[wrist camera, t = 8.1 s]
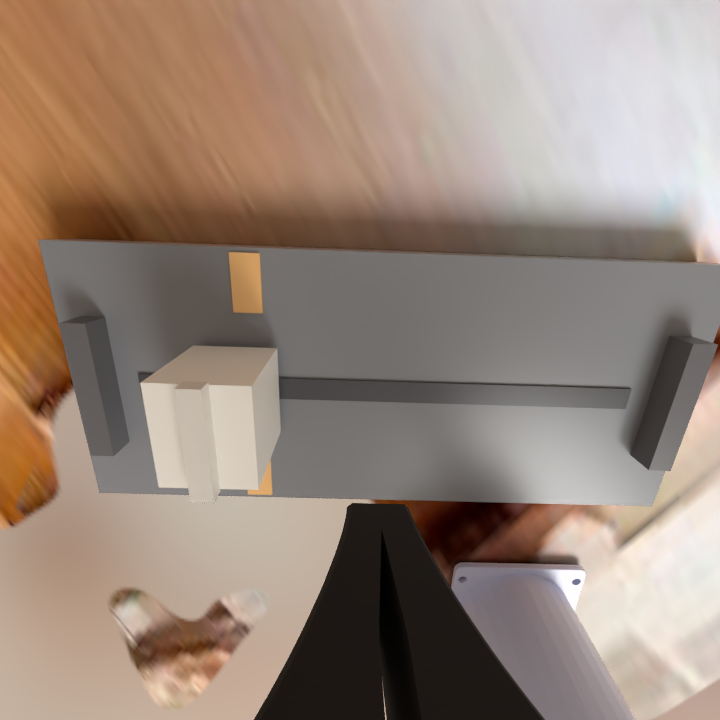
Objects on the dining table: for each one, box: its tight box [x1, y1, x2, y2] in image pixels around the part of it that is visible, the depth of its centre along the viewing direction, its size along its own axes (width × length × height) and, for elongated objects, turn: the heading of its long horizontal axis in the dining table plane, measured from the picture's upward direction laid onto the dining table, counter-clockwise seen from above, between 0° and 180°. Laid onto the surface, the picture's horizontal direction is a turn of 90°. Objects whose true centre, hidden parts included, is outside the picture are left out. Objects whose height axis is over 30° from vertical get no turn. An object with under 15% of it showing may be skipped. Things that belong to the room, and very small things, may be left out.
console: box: [38, 239, 720, 506], centre depth 17 cm, size 12×28×3 cm, turn 88°
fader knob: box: [140, 345, 281, 503], centre depth 14 cm, size 4×4×5 cm
